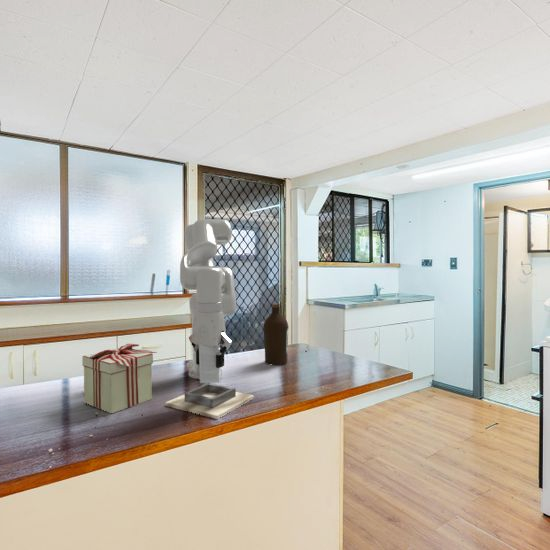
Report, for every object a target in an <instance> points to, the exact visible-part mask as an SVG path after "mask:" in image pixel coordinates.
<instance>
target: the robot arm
mask: <svg viewBox="0 0 550 550" xmlns="http://www.w3.org/2000/svg"><path fill="white" fill-rule="evenodd" d="M232 235H233V230H232V225H231V223H230V222H229V220H226V219H222V218H221V219H220V218H219V219H217V218H216V219H215V218H214V219H212V218H203V219H198V220H196V221H195V222H194V223H191V224H189V225H187V226H186V227H185V230H184V239H185V245H186V247H187V251H186V252H185V253H184V254H183V256H182V257H181V261H180V264H179V280H180V281H179V282H180V286H181V288H182V289H185V290H188V291H195V290H196V292H195V293H194V294H192V295H191V296H190V298H189V299H188V300H189V311H190V317H191V328H192V329H191V334H190V336H188V339H189V342H190V344H191V346H192V360H188V362H187V363H186V364H185V366H186V367H187V368H190V370H189V372H188V376H189V377H190V378H191V379H195V380H200V368H199V344H202V345H204V346H209V347H215V349H216V351H217V354H218V355H216V368H220V370H221V376H222V374H223V370H222V369H221V368H223V367H224V366H225V354H226V353H227V351H229V349H230V348H231V346H232V344H233V341H232V340H231V339H230V338H229V337H228V336H227V333H226V331H227V330H226V320H225V317H230V316H231V317H232V316H233V315H235V313H236V310H237V300H236V287H235V278H234V273H233V270H232V269H231V268H230V267H227V266H216V265H215V266H214V263H215V262H214V257H215V256H216V255H217V253H218V246H223V245H224V246H225V245H226V244H227V245H228V244H229V242H230V241H231V240H232ZM219 346H220V348H219Z"/></svg>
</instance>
